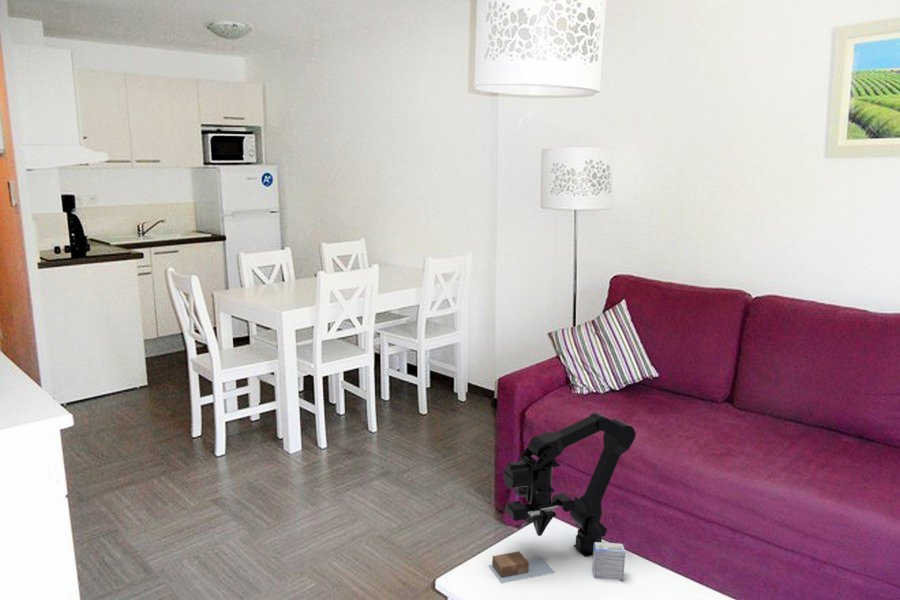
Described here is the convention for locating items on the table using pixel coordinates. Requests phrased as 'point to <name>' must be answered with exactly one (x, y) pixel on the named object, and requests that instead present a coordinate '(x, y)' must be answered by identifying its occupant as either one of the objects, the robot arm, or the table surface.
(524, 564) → the walnut tile
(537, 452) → the robot arm
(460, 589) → the table surface
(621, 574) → the medicine box
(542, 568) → the mat
